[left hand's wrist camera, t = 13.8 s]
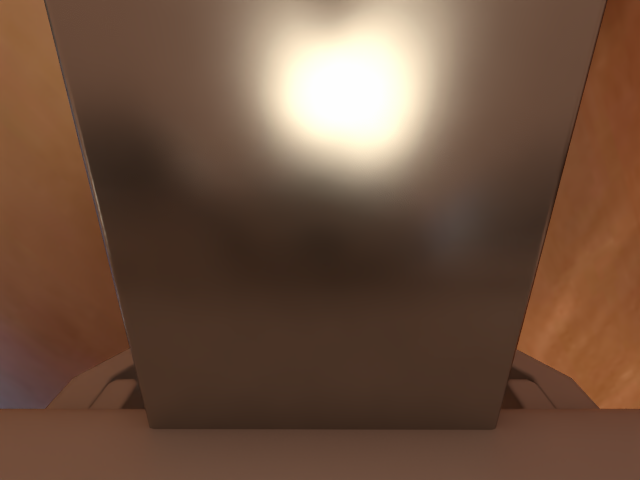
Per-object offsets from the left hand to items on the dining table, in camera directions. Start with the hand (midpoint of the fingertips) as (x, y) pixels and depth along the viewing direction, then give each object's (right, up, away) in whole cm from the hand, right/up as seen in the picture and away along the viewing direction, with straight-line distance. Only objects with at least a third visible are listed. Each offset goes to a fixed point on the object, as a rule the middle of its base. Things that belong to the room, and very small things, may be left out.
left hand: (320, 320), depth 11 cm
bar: (0, +10, -1) cm, 10 cm away
